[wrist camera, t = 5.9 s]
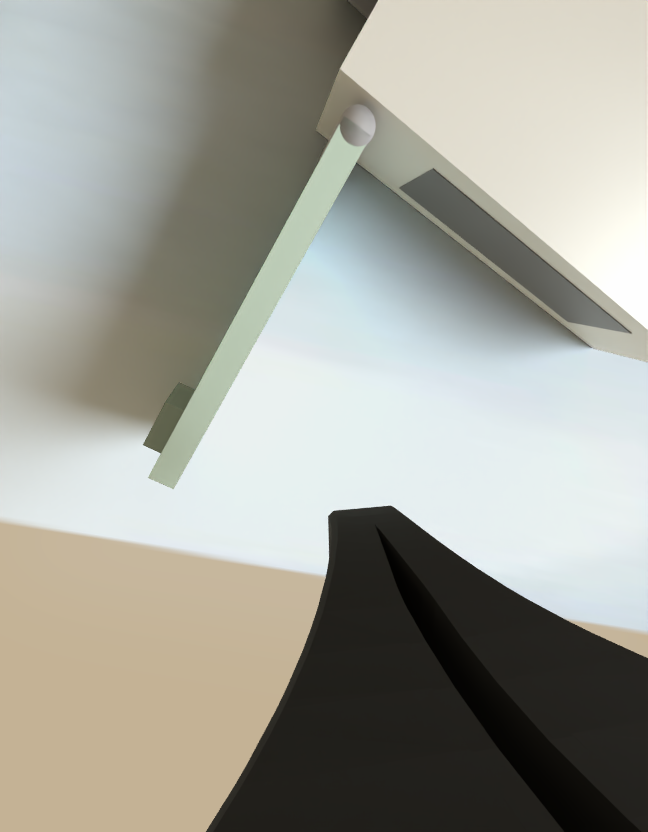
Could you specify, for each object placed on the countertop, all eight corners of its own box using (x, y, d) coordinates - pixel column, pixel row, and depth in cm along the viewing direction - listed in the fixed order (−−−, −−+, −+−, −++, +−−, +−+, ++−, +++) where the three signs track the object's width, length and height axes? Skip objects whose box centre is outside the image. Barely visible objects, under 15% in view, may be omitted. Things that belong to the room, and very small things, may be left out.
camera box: (459, -244, 13) (599, -609, 7) (768, 123, 17) (996, 60, 12) (273, 98, 15) (280, 4, 9) (592, 349, 19) (719, 381, 14)
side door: (349, 159, 15) (382, 119, 11) (195, 436, 18) (175, 489, 13) (313, 132, 15) (332, 80, 11) (160, 420, 17) (128, 469, 13)
